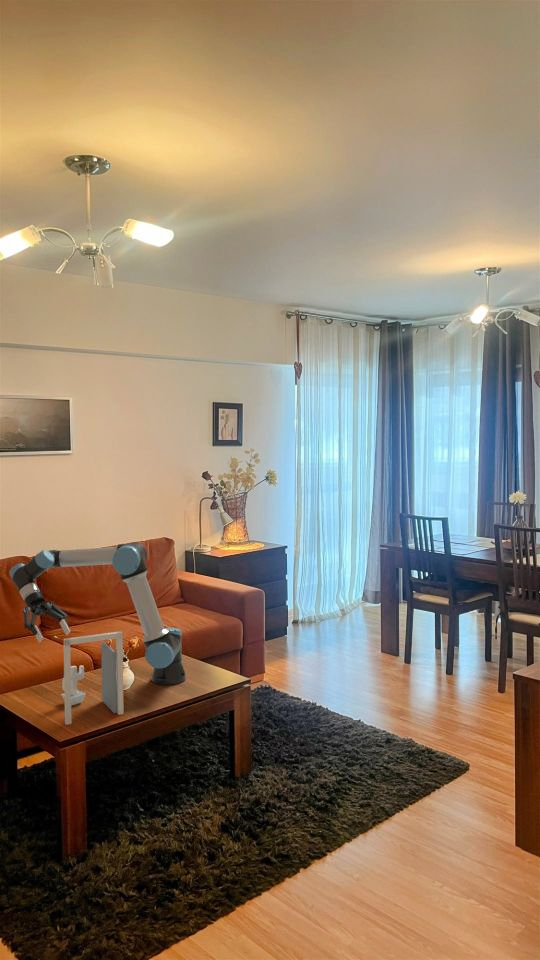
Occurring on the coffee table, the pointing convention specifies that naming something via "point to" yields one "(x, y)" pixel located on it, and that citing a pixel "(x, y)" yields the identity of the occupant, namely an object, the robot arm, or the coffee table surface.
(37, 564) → the robot arm
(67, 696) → the door frame
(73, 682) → the figurine
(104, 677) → the door
